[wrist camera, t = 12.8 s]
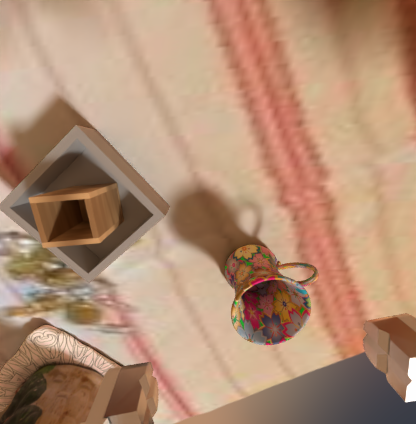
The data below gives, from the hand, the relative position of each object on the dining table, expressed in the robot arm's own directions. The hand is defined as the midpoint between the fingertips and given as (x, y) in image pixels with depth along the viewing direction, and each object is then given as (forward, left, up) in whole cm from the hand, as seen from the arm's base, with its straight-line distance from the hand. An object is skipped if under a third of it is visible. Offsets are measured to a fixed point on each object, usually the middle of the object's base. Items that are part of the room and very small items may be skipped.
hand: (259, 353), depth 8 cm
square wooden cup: (+11, +12, -24) cm, 29 cm away
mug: (-12, +1, -25) cm, 28 cm away
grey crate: (+11, +12, -25) cm, 29 cm away
